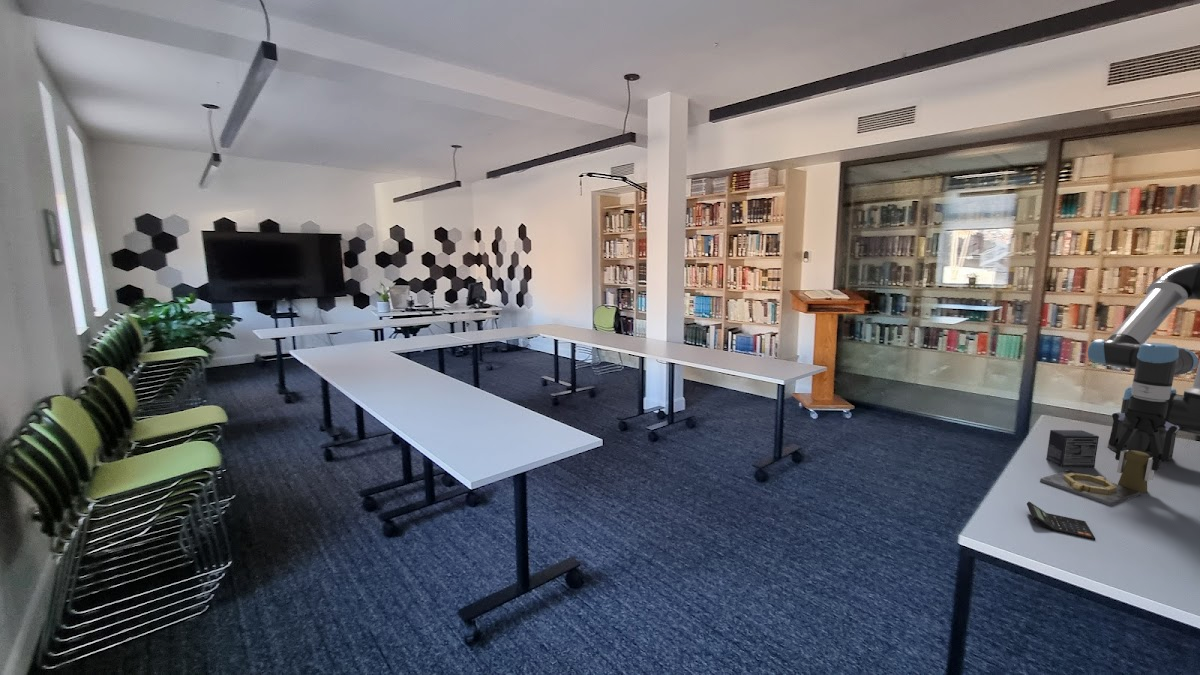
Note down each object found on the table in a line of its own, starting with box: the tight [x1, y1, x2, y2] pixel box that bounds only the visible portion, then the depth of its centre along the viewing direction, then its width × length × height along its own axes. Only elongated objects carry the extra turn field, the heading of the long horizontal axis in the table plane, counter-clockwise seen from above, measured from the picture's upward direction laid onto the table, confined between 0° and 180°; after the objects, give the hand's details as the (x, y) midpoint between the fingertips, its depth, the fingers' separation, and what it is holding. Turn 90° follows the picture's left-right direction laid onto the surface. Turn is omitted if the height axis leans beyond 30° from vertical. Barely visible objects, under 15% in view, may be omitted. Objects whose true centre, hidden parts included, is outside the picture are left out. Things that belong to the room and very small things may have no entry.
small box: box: [1045, 429, 1100, 468], centre depth 165 cm, size 11×6×10 cm, turn 88°
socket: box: [1040, 469, 1141, 507], centre depth 148 cm, size 16×16×2 cm
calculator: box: [1026, 501, 1096, 541], centre depth 128 cm, size 9×12×3 cm
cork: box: [1117, 450, 1151, 494], centre depth 148 cm, size 6×6×11 cm
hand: (1134, 475), depth 148 cm, fingers closed on cork, 5 cm apart
